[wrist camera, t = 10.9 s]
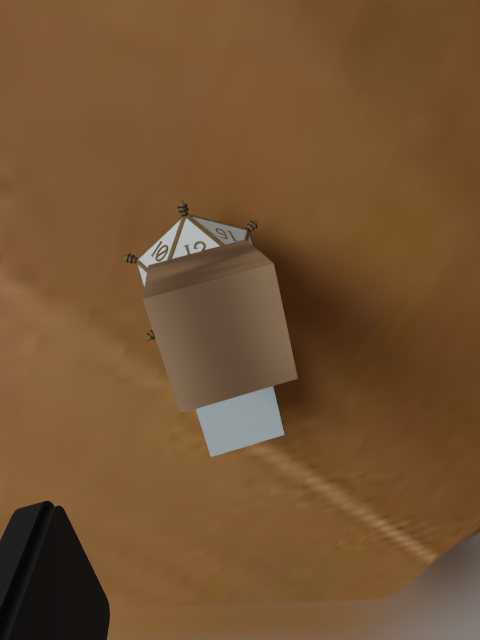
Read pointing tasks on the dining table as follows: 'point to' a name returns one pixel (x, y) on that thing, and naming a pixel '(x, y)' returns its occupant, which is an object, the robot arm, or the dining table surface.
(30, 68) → the dining table surface
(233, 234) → the game die
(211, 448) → the grey block
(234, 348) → the walnut block
